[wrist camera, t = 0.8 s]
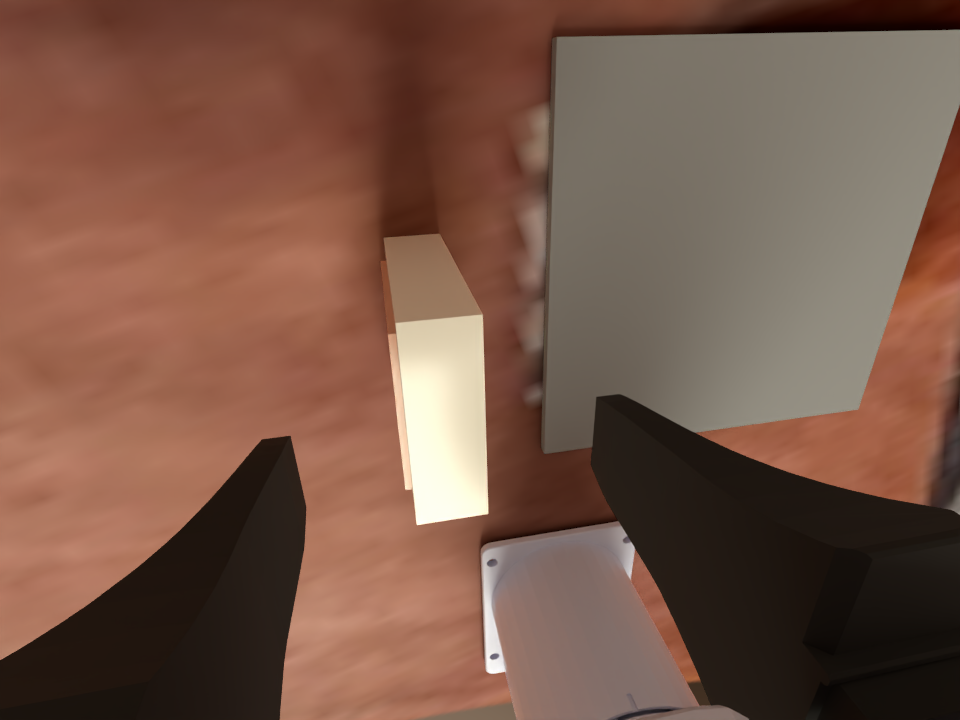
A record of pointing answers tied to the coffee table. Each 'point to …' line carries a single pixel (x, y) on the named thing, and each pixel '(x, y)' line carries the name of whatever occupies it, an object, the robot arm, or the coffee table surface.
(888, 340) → the coffee table surface
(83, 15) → the coffee table surface
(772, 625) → the robot arm
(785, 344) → the mat
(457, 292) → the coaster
